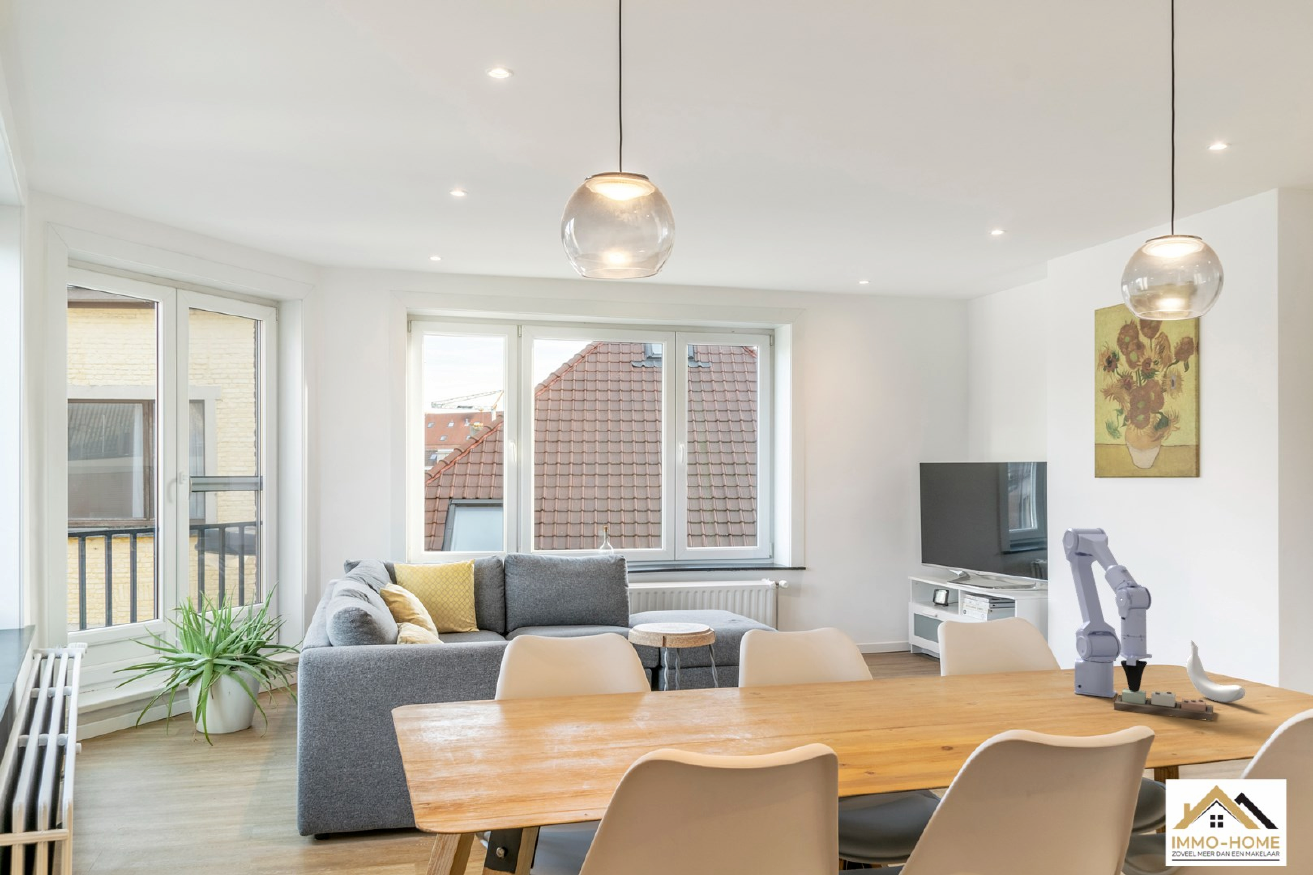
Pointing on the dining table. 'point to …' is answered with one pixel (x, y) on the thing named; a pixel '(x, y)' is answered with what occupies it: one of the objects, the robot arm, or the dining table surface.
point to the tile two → (1163, 698)
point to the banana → (1208, 686)
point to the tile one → (1134, 696)
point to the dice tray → (1163, 709)
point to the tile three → (1193, 704)
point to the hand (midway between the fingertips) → (1134, 690)
